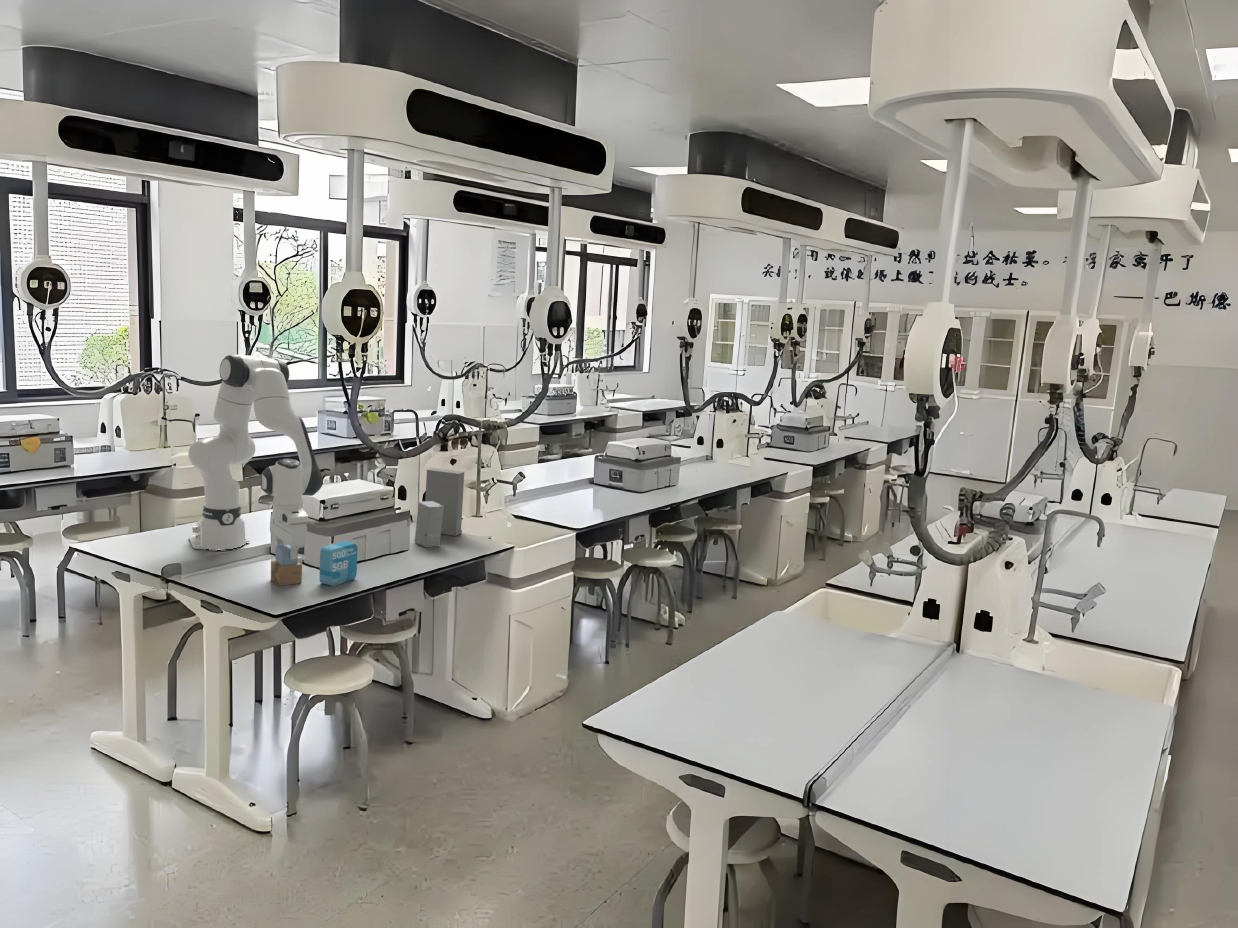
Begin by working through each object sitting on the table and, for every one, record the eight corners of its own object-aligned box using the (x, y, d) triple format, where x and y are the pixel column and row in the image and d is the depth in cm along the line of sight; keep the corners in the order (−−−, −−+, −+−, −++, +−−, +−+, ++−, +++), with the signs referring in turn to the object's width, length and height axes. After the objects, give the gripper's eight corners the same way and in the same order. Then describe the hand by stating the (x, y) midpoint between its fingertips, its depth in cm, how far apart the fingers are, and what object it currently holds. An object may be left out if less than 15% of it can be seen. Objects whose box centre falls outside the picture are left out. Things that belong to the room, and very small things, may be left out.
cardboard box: (270, 579, 288) (271, 561, 287) (292, 576, 293) (293, 558, 292) (279, 585, 283) (279, 567, 282) (301, 582, 288) (302, 564, 287)
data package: (329, 587, 286) (330, 550, 284) (318, 584, 288) (319, 547, 286) (356, 578, 297) (358, 542, 295) (346, 575, 299) (347, 540, 297)
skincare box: (414, 542, 345) (415, 501, 342) (430, 540, 349) (432, 500, 347) (425, 548, 339) (427, 506, 336) (442, 546, 343) (444, 504, 341)
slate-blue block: (275, 561, 287) (275, 546, 287) (291, 559, 291) (291, 544, 290) (281, 565, 284) (282, 550, 283) (297, 563, 287) (297, 548, 286)
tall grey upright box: (462, 533, 364) (465, 471, 360) (456, 536, 358) (459, 473, 354) (429, 528, 367) (432, 467, 363) (423, 531, 361) (426, 469, 357)
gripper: (264, 505, 290) (264, 547, 292) (290, 520, 275) (289, 564, 277) (284, 503, 294) (283, 545, 297) (311, 518, 279) (309, 561, 282)
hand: (286, 554), depth 287 cm, fingers open, 8 cm apart
